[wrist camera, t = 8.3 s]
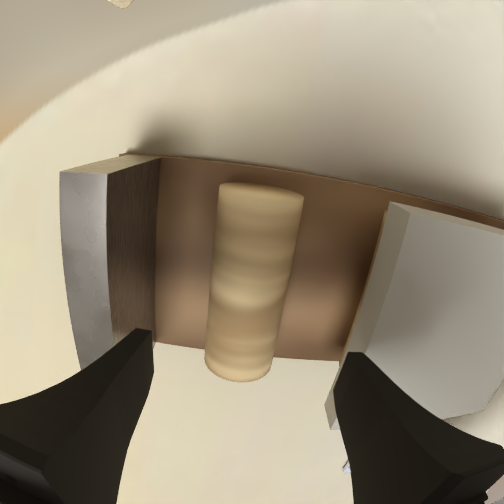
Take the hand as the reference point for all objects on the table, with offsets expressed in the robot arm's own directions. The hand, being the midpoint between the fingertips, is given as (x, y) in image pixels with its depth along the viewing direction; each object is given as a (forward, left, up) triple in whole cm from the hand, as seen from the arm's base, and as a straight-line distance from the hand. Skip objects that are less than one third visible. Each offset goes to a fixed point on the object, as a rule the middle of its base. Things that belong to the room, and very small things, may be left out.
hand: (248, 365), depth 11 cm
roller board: (0, -9, -9) cm, 13 cm away
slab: (0, -11, -4) cm, 12 cm away
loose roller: (0, 0, -8) cm, 8 cm away
